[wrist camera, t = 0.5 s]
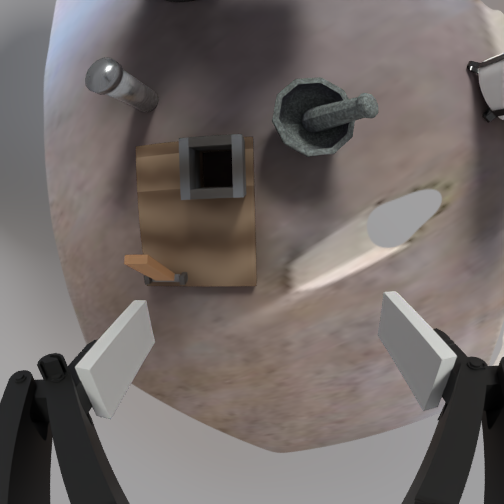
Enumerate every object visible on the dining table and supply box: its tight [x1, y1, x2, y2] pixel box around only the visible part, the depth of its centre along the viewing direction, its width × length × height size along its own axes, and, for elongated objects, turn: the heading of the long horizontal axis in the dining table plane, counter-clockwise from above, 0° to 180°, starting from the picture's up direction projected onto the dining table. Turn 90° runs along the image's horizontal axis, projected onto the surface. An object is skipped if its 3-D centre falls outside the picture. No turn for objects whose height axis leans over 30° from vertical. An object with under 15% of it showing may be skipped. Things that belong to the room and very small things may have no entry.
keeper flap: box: [124, 255, 180, 282], centre depth 35 cm, size 11×4×1 cm
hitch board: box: [136, 134, 257, 286], centre depth 37 cm, size 20×16×8 cm
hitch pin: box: [85, 58, 158, 112], centre depth 30 cm, size 4×4×14 cm
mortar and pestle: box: [272, 78, 378, 157], centre depth 31 cm, size 11×9×12 cm
